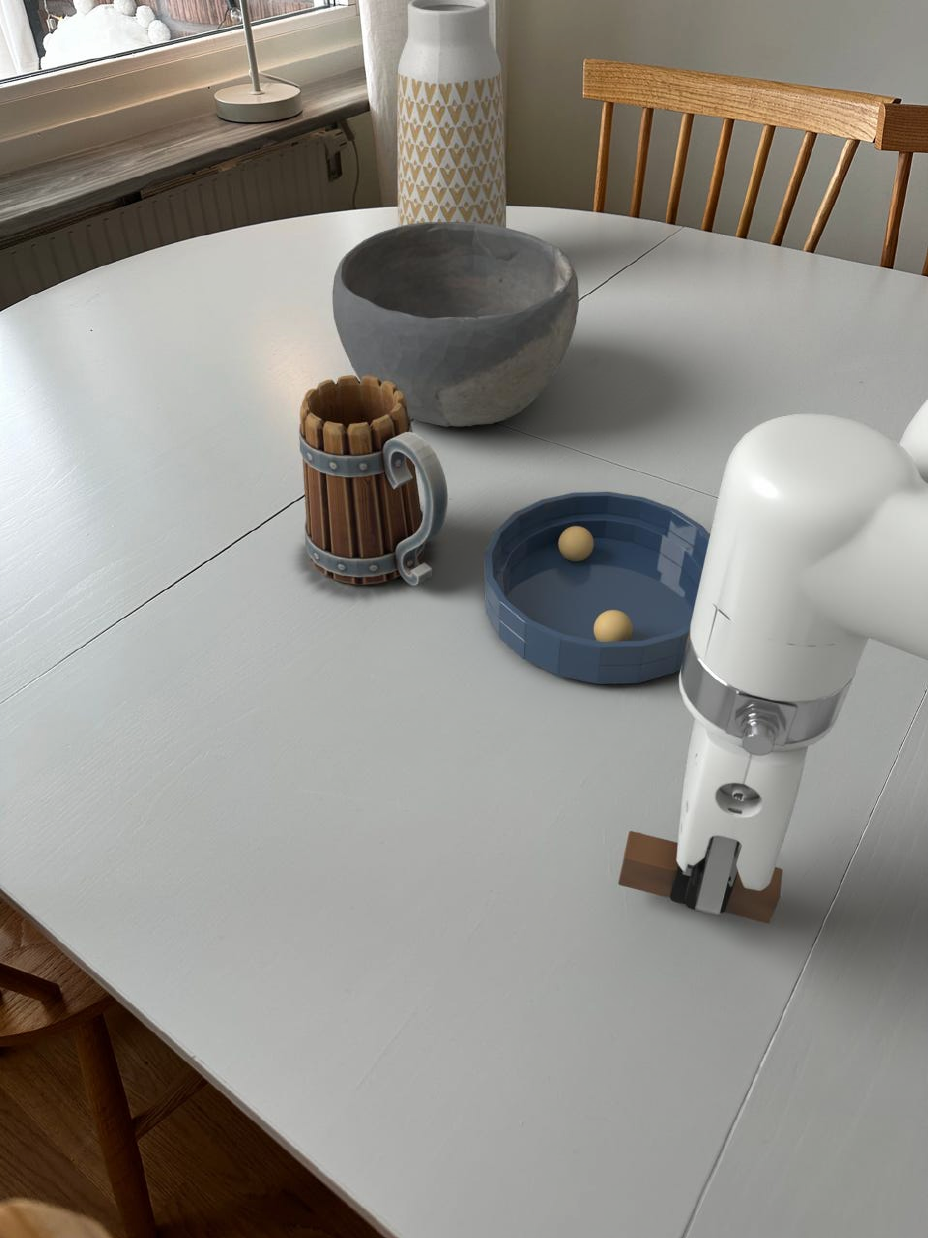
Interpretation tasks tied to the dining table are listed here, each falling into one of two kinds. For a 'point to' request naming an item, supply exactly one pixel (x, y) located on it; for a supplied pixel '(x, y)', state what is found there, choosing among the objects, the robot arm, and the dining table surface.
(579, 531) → the bead
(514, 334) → the bowl
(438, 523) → the mug
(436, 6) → the vase
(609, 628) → the bead
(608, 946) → the dining table surface
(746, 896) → the brown wooden block
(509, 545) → the round tray
